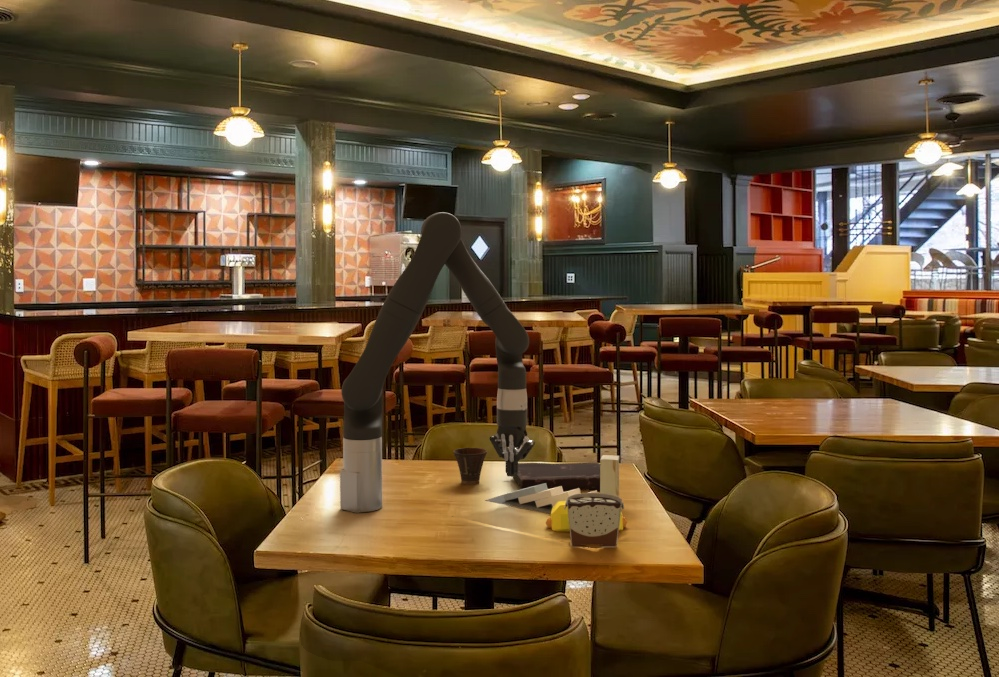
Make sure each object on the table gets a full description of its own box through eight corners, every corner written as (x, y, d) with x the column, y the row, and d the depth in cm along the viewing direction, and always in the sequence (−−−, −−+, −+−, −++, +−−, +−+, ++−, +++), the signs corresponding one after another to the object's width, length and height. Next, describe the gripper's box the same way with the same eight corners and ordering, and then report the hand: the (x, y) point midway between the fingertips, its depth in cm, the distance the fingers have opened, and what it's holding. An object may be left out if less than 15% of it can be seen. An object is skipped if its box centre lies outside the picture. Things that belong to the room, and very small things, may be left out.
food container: (618, 538, 180) (619, 491, 179) (624, 547, 173) (624, 499, 173) (561, 538, 179) (561, 492, 179) (564, 547, 173) (564, 499, 172)
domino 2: (519, 504, 205) (551, 496, 199) (518, 497, 205) (549, 489, 199) (532, 500, 209) (563, 492, 203) (530, 493, 209) (561, 485, 203)
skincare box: (617, 510, 201) (618, 460, 201) (599, 509, 202) (599, 459, 201) (619, 504, 208) (619, 454, 207) (601, 503, 208) (602, 454, 208)
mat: (569, 520, 193) (569, 517, 193) (485, 502, 208) (485, 500, 208) (592, 511, 201) (592, 508, 201) (509, 494, 216) (509, 492, 216)
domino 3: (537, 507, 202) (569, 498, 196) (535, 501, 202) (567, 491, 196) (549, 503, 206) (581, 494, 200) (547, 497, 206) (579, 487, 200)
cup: (496, 484, 225) (491, 447, 224) (465, 491, 222) (459, 454, 221) (484, 478, 233) (479, 443, 232) (454, 485, 230) (449, 449, 229)
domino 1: (504, 500, 208) (535, 493, 202) (503, 494, 208) (534, 486, 202) (517, 497, 212) (547, 489, 206) (515, 490, 212) (546, 482, 206)
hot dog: (630, 535, 182) (623, 525, 190) (630, 505, 182) (624, 496, 189) (547, 536, 182) (544, 526, 189) (547, 505, 181) (544, 496, 189)
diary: (615, 494, 220) (615, 475, 220) (521, 498, 216) (521, 479, 216) (595, 477, 239) (595, 459, 238) (508, 480, 234) (508, 462, 234)
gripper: (481, 405, 209) (481, 474, 210) (524, 410, 201) (524, 482, 202) (500, 402, 215) (500, 469, 216) (542, 407, 207) (542, 477, 208)
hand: (511, 475), depth 209 cm, fingers closed
